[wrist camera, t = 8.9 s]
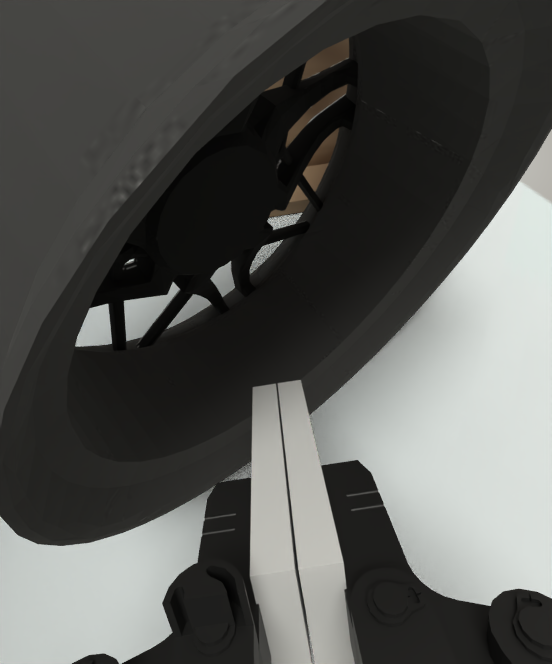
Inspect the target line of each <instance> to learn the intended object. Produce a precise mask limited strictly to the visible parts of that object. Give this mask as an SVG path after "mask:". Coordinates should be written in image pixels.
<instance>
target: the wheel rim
mask: <svg viewBox="0 0 552 664" xmlns="http://www.w3.org/2000/svg"><path fill="white" fill-rule="evenodd" d="M347 38H349V58H347V59H345V60H343V61H341V62H339V63H337V64H335V65H333V66H331V67H329V68H327V69H325V70H323V71H321V72H319V73H317V74H315V75H313V76H310V77H308V78H306V79H303V80H301V79H302V75H303V72H304V69H305V66H306V62H307V61H308V60H309V59H311V58H312V57H314V56H315V55H317V54H318V53H319V52H321V51H322V50H324V49H326V48H328V47H330V46H332V45H335V44H337V43H339V42H341V41H343V40H345V39H347ZM283 77H284V81H283V84H282V86H281V87H277V88H274V89H270V90H267V91H265V90H266V89H268V88H269V87H270V86H272V85H273V84H275V83H276V82H278V81H279V80H281V79H282V78H283ZM347 84H348V85H347ZM345 85H347V91H346V94H344V95H343V96H342V97H340V98H339V99H338V100H336V101H335V102H333V103H332V104H331V105H329V106H328V107H327V108H325V109H324V110H322V111H321V112H320V113H318V114H317V115H316V116H314V117H313V118H312V119H311V120H310V121H309V122H308V123H307V125H306V126H305V127H304V128H303V129H302V130H301V131H300V133H299V134H298V135H297V136H296V137H295V138H294V139H293V141H292V142H291V143H290V144H289V145H288V146H287V148H286V142H287V137H288V132H289V130H290V129H291V128H292V127H293V126H294V124H295V123H296V122H297V121H298V120H299V119H300V118H301V117H302V116H303V115H304V114H305V113H306V112H307V110H308V109H309V108H311V107H312V106H313V105H315V104H316V103H317V102H318V101H320V100H321V99H322V98H324V97H325V96H326V95H328V94H329V93H330V92H332V91H334V90H336V89H339V88H341V87H343V86H345ZM338 128H339V132H338V137H337V141H336V144H335V148H334V150H333V153H332V156H331V159H330V161H329V163H328V166H327V168H326V170H325V172H324V175H323V177H322V179H321V181H320V183H319V185H318V187H317V189H316V191H314V190H313V189H312V187H311V186H310V184H309V183H308V181H307V180H306V178H305V177H304V175H303V172H304V170H305V169H306V167H307V165H308V164H309V162H310V160H311V158H312V157H313V155H314V153H315V152H316V151H317V149H318V148H319V147H320V145H321V144H322V142H323V141H324V140H325V139H326V138H327V137H328V136H329V135H330V134H332V133H333V132H334V131H335V130H336V129H338ZM551 129H552V0H0V516H1V518H2V519H3V520H4V521H5V522H6V523H7V524H8V525H9V526H10V527H11V528H12V529H13V530H14V532H15V533H16V534H17V535H19V536H21V537H23V538H25V539H28V540H30V541H32V542H35V543H37V544H44V545H57V546H65V545H74V544H82V543H90V542H94V541H97V540H100V539H104V538H107V537H110V536H114V535H117V534H120V533H123V532H126V531H128V530H131V529H133V528H136V527H138V526H141V525H143V524H145V523H147V522H149V521H151V520H154V519H156V518H158V517H160V516H162V515H164V514H166V513H168V512H170V511H172V510H174V509H175V508H177V507H179V506H181V505H183V504H185V503H186V502H188V501H190V500H192V499H193V498H195V497H197V496H198V495H200V494H202V493H203V492H205V491H207V490H208V489H210V488H211V487H213V486H214V485H216V484H217V483H219V482H221V481H222V480H224V479H225V478H227V477H228V476H230V475H231V474H233V473H234V472H236V471H237V470H239V469H240V468H241V467H243V466H244V465H246V464H247V463H249V462H250V461H251V460H252V403H253V387H257V386H264V385H270V384H276V388H277V394H278V400H279V391H278V383H283V382H290V381H296V380H301V383H302V388H303V392H304V396H305V400H306V405H307V409H308V413H309V415H310V414H311V413H312V412H313V411H315V410H316V409H317V408H318V407H319V406H320V405H322V404H323V403H324V402H325V401H326V400H327V399H328V398H329V397H331V396H332V395H333V394H334V393H335V392H336V391H337V390H338V389H339V388H341V387H342V386H343V385H344V384H345V383H346V382H347V381H348V380H349V379H350V378H351V377H352V376H353V375H355V374H356V373H357V372H358V371H359V370H360V369H361V368H362V367H363V366H364V365H365V364H366V363H367V362H368V361H369V360H370V359H371V358H372V357H373V356H374V355H375V354H376V353H377V352H378V351H379V350H380V349H381V348H382V347H383V346H384V345H385V344H386V343H387V342H388V341H389V340H390V339H391V338H392V337H393V336H394V335H395V334H396V333H397V332H398V331H399V330H400V329H401V327H402V326H403V325H404V324H405V323H406V322H407V321H408V320H409V319H410V318H411V317H412V316H413V315H414V314H415V312H416V311H417V310H418V309H419V308H420V307H421V306H422V305H423V304H424V302H425V301H426V300H427V299H428V298H429V297H430V296H431V295H432V293H433V292H434V291H435V290H436V289H437V288H438V287H439V285H440V284H441V283H442V282H443V281H444V280H445V278H446V277H447V276H448V275H449V274H450V272H451V271H452V270H453V269H454V268H455V266H456V265H457V264H458V263H459V262H460V260H461V259H462V258H463V257H464V255H465V254H466V253H467V252H468V251H469V249H470V248H471V247H472V245H473V244H474V243H475V242H476V240H477V239H478V238H479V236H480V235H481V234H482V232H483V231H484V230H485V228H486V227H487V226H488V225H489V223H490V222H491V220H492V219H493V218H494V216H495V215H496V214H497V212H498V211H499V209H500V208H501V207H502V205H503V204H504V202H505V201H506V200H507V198H508V197H509V196H510V194H511V193H512V191H513V190H514V188H515V187H516V185H517V184H518V182H519V181H520V179H521V177H522V176H523V174H524V173H525V171H526V170H527V168H528V167H529V165H530V164H531V162H532V161H533V159H534V158H535V156H536V155H537V153H538V151H539V149H540V148H541V146H542V144H543V143H544V141H545V139H546V138H547V136H548V134H549V132H550V131H551ZM297 185H298V186H299V187H300V189H301V190H302V191H303V193H304V194H305V196H306V197H307V198H308V200H309V201H310V202H309V204H308V205H307V207H306V208H305V210H304V212H303V213H302V215H301V217H300V218H299V220H298V221H297V223H296V224H293V225H290V226H286V227H283V228H279V229H276V230H273V227H272V226H271V225H270V224H269V223H268V222H267V220H268V218H269V215H270V213H271V212H272V211H273V210H279V211H284V210H286V208H287V206H288V204H289V201H290V199H291V197H292V195H293V193H294V191H295V189H296V187H297ZM280 240H283V242H282V243H281V244H280V245H279V247H278V248H277V249H276V250H275V251H274V253H273V254H272V255H271V256H270V257H269V258H268V259H267V260H266V261H265V262H264V263H263V264H262V265H260V266H259V267H258V268H257V269H256V270H255V271H254V272H253V273H252V274H250V275H249V270H250V267H251V264H252V261H253V260H254V258H255V256H256V254H257V253H258V251H259V250H260V249H261V247H262V246H264V245H267V244H270V243H274V242H277V241H280ZM131 259H134V261H132V262H129V263H126V262H128V261H129V260H131ZM230 261H231V270H232V275H233V280H234V284H235V289H233V290H232V291H231V292H229V293H228V294H227V295H225V296H224V297H223V298H222V296H221V294H220V292H219V291H218V289H217V287H216V286H215V285H214V283H213V282H212V281H211V280H210V278H211V277H212V275H213V274H214V273H215V271H216V270H217V269H218V268H219V267H222V266H224V265H225V264H227V263H228V262H230ZM125 263H126V264H125ZM172 282H174V283H175V284H176V285H177V286H178V287H179V288H180V290H179V291H178V292H177V294H176V295H175V296H174V297H173V299H172V300H171V301H170V303H169V304H168V305H167V306H166V308H165V309H164V310H163V312H162V313H161V314H160V315H159V317H158V318H157V319H156V321H155V322H154V323H153V324H152V326H151V327H150V328H149V330H148V331H147V332H146V333H145V335H144V336H143V337H142V338H138V339H134V340H130V341H126V331H125V315H124V301H125V300H131V299H138V298H145V297H153V296H160V295H167V294H168V292H169V289H170V287H171V285H172ZM193 294H197V295H200V296H202V297H204V298H207V299H208V300H209V301H210V302H211V304H212V305H210V306H209V307H207V308H205V309H204V310H202V311H200V312H199V313H197V314H196V315H194V316H192V317H191V318H189V319H187V320H185V321H183V322H181V323H180V324H177V325H175V326H173V327H171V328H169V329H166V328H167V327H168V325H169V324H170V323H171V322H172V320H173V319H174V318H175V317H176V315H177V314H178V313H179V311H180V310H181V309H182V308H183V306H184V305H185V304H186V303H187V301H188V300H189V299H190V298H191V296H192V295H193ZM108 303H109V314H110V324H111V335H112V344H108V345H100V346H84V347H75V344H76V340H77V336H78V334H79V332H80V329H81V327H82V324H83V322H84V320H85V317H86V315H87V313H88V310H89V308H92V307H96V306H100V305H104V304H108ZM165 329H166V330H165ZM279 406H280V400H279ZM280 412H281V409H280Z"/></svg>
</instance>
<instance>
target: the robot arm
mask: <svg viewBox="0 0 552 664" xmlns="http://www.w3.org/2000/svg"><path fill="white" fill-rule="evenodd" d="M278 391H279V400H280V406H279V400H278V394H277V388H276V384H270V385H264V386H257V387H253V403H252V468H251V478H246V479H239V480H232V481H226V482H219V483H217V485H216V486H215V488H214V490H213V491H212V493H211V494H210V496H209V497H208V499H207V505H206V511H205V521H204V524H203V531H202V537H201V544H200V550H199V556H198V563H196V564H193V565H192V566H191V567H189V568H188V569H186V570H185V571H183V572H182V573H181V574H179V576H178V577H177V578H176V579H175V580H174V582H173V583H172V584H171V585H170V587H169V588H168V591H167V593H166V596H165V598H164V601H163V603H162V604H163V607H164V610H165V613H166V615H167V618H168V621H169V624H170V626H171V629H172V632H173V633H172V634H171V635H170V636H168V637H167V638H166V639H165V640H164V641H162V642H161V643H159V644H158V645H156V646H155V647H153V648H151V649H149V650H147V651H145V652H143V653H141V654H140V655H138V656H136V657H134V658H132V659H130V660H128V661H126V662H124V663H122V664H312V658H311V649H310V641H309V633H310V638H311V644H312V650H313V656H314V661H315V664H552V599H551V598H549V597H547V596H545V595H543V594H541V593H538V592H535V591H529V590H523V589H514V590H509V591H504V592H502V593H501V594H500V595H498V596H497V597H496V598H495V599H494V600H493V601H492V604H491V606H486V605H481V604H475V603H470V602H464V601H459V600H455V599H451V598H448V597H445V596H442V595H440V594H438V593H436V592H435V591H433V590H431V589H430V588H428V587H427V586H426V585H425V584H423V583H422V582H421V581H420V580H419V579H418V578H417V577H416V575H415V574H414V573H413V572H412V570H411V568H410V566H409V565H408V563H407V560H406V558H405V555H404V553H403V550H402V548H401V545H400V543H399V541H398V538H397V536H396V533H395V531H394V528H393V526H392V523H391V521H390V518H389V516H388V513H387V511H386V508H385V507H384V504H383V501H382V499H381V496H380V494H379V493H378V489H377V486H376V484H375V481H374V479H373V476H372V474H371V472H370V471H369V470H367V469H366V468H365V467H364V466H363V465H362V464H361V463H360V462H359V461H358V460H355V461H348V462H342V463H335V464H329V465H322V466H321V464H320V460H319V456H318V451H317V447H316V443H315V439H314V434H313V430H312V426H311V422H310V417H309V413H308V409H307V405H306V400H305V396H304V392H303V388H302V383H301V380H296V381H290V382H283V383H278ZM280 409H281V412H280ZM306 615H307V616H306ZM307 621H308V624H307ZM308 627H309V632H308ZM72 664H119V663H118V661H117V660H116V659H115V658H113V657H111V656H108V655H106V654H95V655H88V656H86V657H84V658H82V659H80V660H78V661H76V662H74V663H72Z"/></svg>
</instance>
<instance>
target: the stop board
mask: <svg viewBox="0 0 552 664" xmlns="http://www.w3.org/2000/svg"><path fill="white" fill-rule="evenodd" d="M347 58H349V38H347V39H345V40H343V41H341V42H339V43H337V44H335V45H332V46H330V47H328V48H326V49H324V50H322V51H321V52H319V53H318V54H317V55H315V56H314V57H312V58H311V59H309V60H308V61H307V62H306V66H305V69H304V72H303V75H302V79H301V80H303V79H306V78H308V77H310V76H313V75H315V74H317V73H319V72H321V71H323V70H325V69H327V68H329V67H331V66H333V65H335V64H337V63H339V62H341V61H343V60H345V59H347ZM283 81H284V77H283V78H282V79H281V80H279V81H278V82H276V83H275V84H273V85H272V86H270V87H269V88H268V89H266V90H265V91H267V90H270V89H274V88H277V87H281V86H282V84H283ZM347 85H348V84H347ZM347 85H345V86H343V87H341V88H339V89H336V90H334V91H332V92H330V93H329V94H328V95H326V96H325V97H324V98H322V99H321V100H320V101H318V102H317V103H316V104H315V105H313V106H312V107H311V108H309V109H308V110H307V112H306V113H305V114H304V115H303V116H302V117H301V118H300V119H299V120H298V121H297V122H296V123H295V124H294V126H293V127H292V128H291V129H290V130H289V132H288V137H287V142H286V148H287V146H288V145H289V144H290V143H291V142H292V141H293V139H294V138H295V137H296V136H297V135H298V134H299V133H300V131H301V130H302V129H303V128H304V127H305V126H306V125H307V123H308V122H309V121H310V120H311V119H312V118H313V117H314V116H316V115H317V114H318V113H320V112H321V111H322V110H324V109H325V108H327V107H328V106H329V105H331V104H332V103H333V102H335V101H336V100H338V99H339V98H340V97H342V96H343V95H344V94H346V91H347ZM338 132H339V128H338V129H336V130H335V131H334V132H333V133H332V134H330V135H329V136H328V137H327V138H326V139H325V140H324V141H323V142H322V144H321V145H320V147H319V148H318V149H317V151H316V152H315V153H314V155H313V157H312V158H311V160H310V162H309V164H308V165H307V167H306V169H305V170H304V172H303V175H304V177H305V178H306V180H307V181H308V183H309V184H310V186H311V187H312V189H313V190H314V191H316V189H317V187H318V185H319V183H320V181H321V179H322V177H323V175H324V172H325V170H326V168H327V166H328V163H329V161H330V159H331V156H332V153H333V150H334V148H335V144H336V141H337V137H338ZM309 202H310V201H309V200H308V198H307V197H306V196H305V194H304V193H303V191H302V190H301V189H300V187H299V186H298V185H297V187H296V189H295V191H294V193H293V195H292V197H291V199H290V201H289V204H288V206H287V208H286V210H284V211H279V210H273V211H272V212H271V213H270V215H269V217H275V216H281V215H288V214H294V213H300V212H304V210H305V208H306V207H307V205H308V204H309Z"/></svg>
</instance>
